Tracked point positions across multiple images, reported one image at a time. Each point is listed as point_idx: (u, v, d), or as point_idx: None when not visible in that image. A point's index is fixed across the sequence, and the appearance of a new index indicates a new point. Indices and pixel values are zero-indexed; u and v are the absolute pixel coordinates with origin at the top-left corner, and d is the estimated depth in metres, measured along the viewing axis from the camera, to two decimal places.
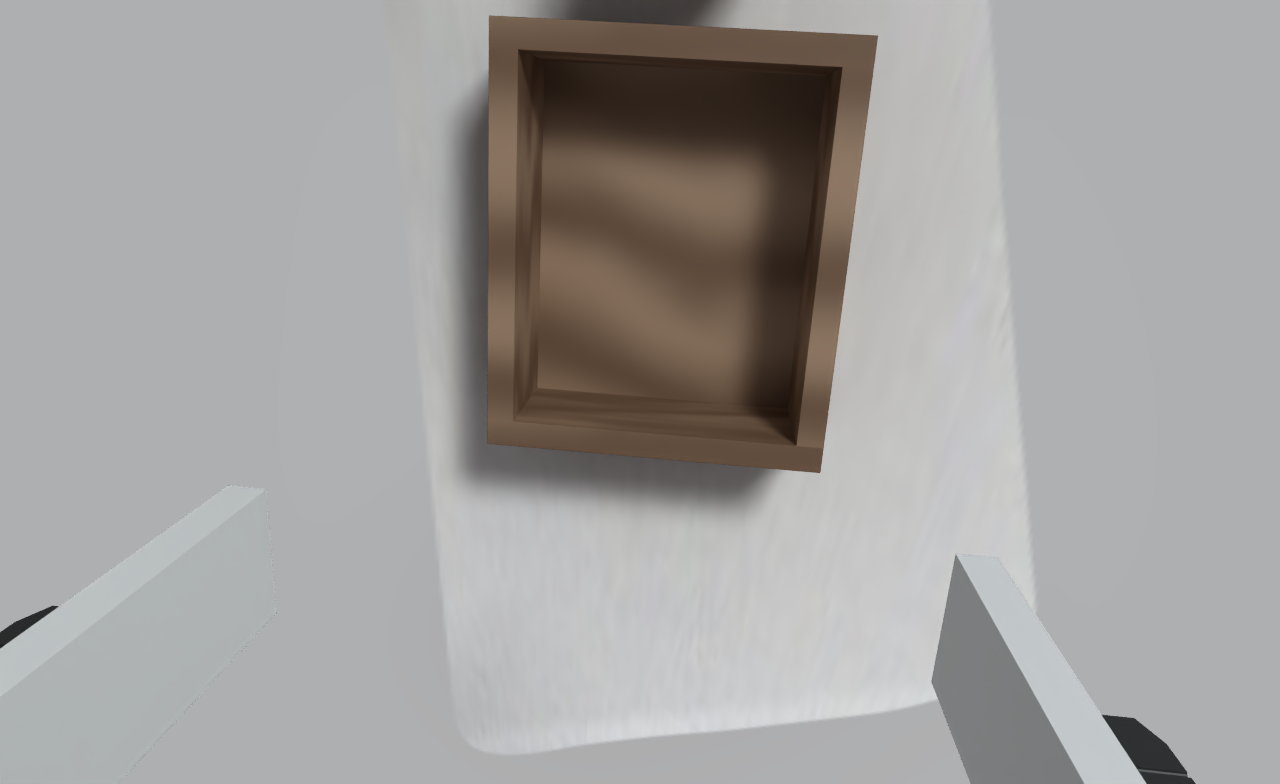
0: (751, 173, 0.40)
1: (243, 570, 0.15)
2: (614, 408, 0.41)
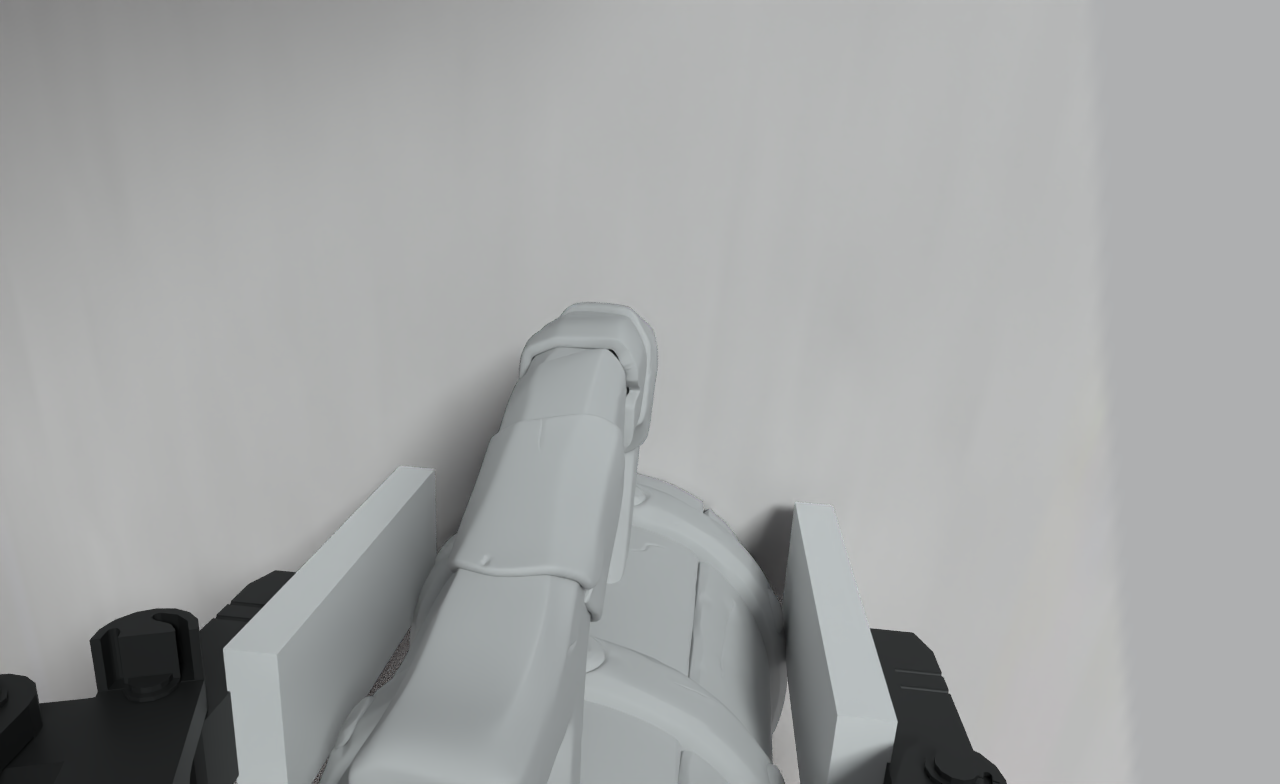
0: None
1: (420, 542, 0.17)
2: None
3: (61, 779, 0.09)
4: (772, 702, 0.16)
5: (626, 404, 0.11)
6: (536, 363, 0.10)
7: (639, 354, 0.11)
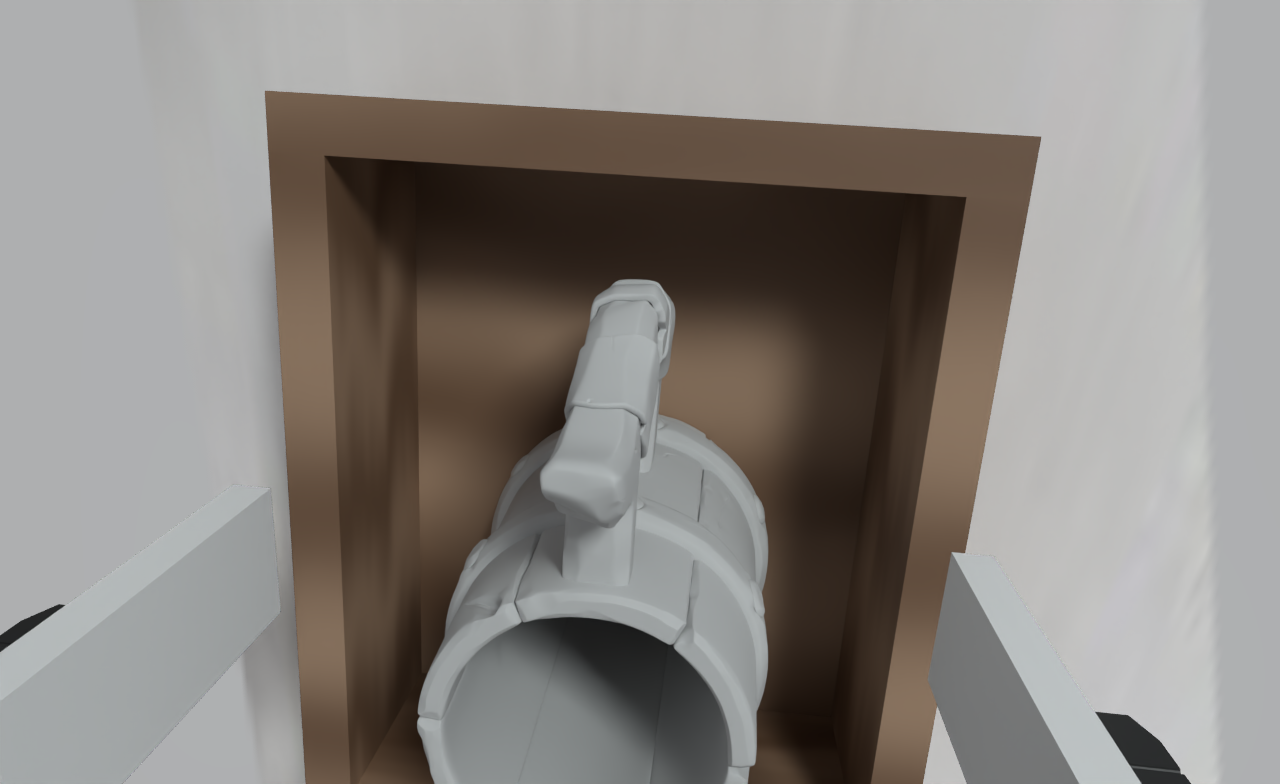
0: (773, 348, 0.23)
1: (248, 569, 0.15)
2: None
3: None
4: (757, 574, 0.22)
5: (657, 337, 0.17)
6: (602, 309, 0.17)
7: (666, 306, 0.17)
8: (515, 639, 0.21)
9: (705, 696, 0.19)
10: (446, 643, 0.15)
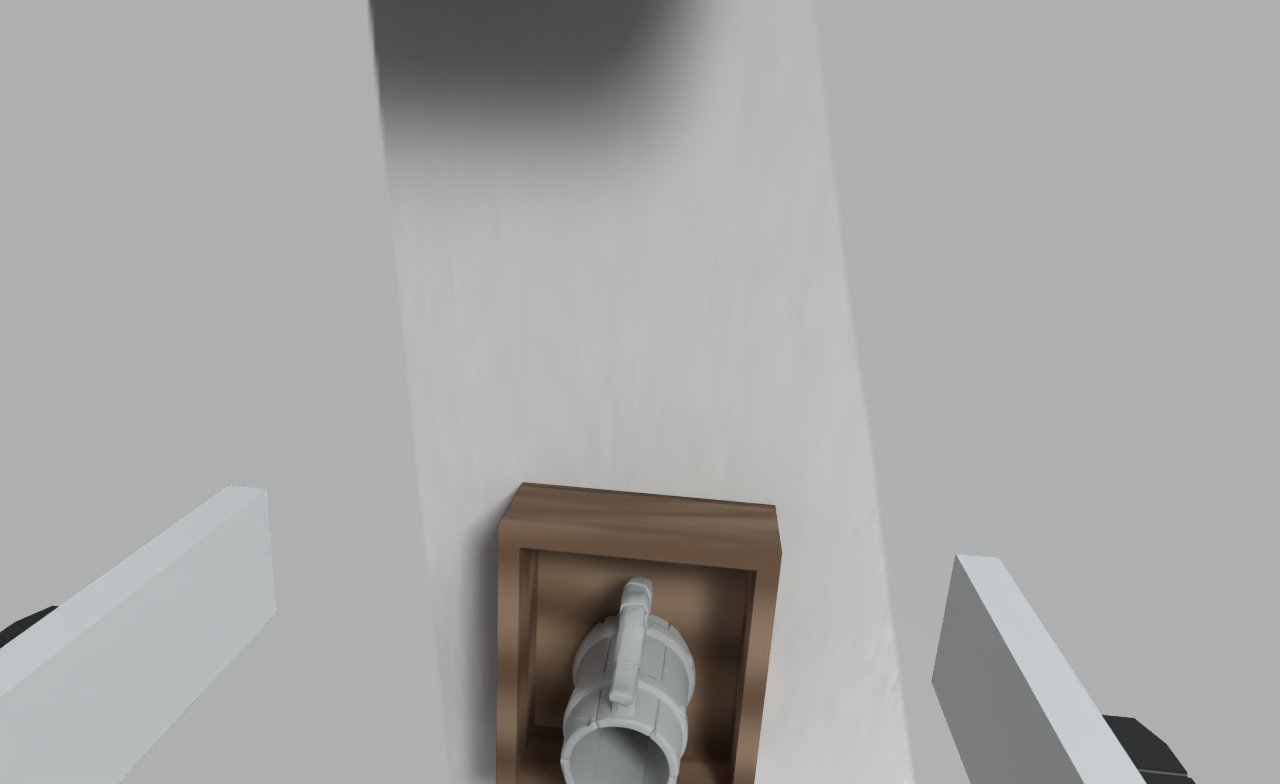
0: (698, 587, 0.52)
1: (243, 570, 0.15)
2: None
3: None
4: (689, 689, 0.51)
5: (645, 617, 0.46)
6: (624, 610, 0.45)
7: (648, 605, 0.46)
8: None
9: None
10: (571, 734, 0.44)
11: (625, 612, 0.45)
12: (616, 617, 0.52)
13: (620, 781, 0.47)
